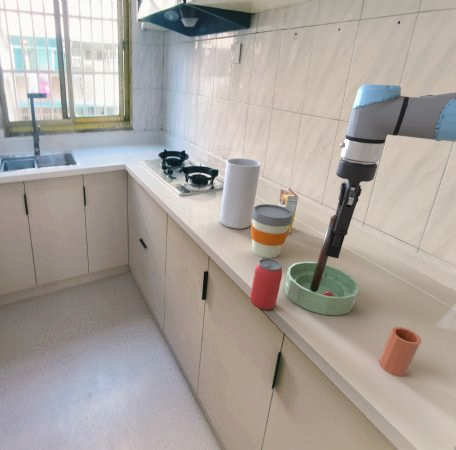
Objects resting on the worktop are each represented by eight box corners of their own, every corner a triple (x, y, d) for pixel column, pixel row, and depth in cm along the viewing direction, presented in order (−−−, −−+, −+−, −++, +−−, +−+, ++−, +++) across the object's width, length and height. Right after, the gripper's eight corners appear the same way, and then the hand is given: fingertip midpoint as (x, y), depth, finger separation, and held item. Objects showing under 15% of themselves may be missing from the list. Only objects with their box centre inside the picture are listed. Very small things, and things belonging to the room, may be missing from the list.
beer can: (244, 301, 89) (251, 262, 84) (258, 292, 93) (266, 254, 88) (265, 314, 85) (274, 273, 80) (280, 304, 89) (289, 265, 84)
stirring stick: (317, 290, 90) (341, 214, 80) (316, 294, 88) (340, 217, 79) (309, 288, 90) (332, 212, 81) (308, 291, 89) (331, 215, 80)
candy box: (273, 223, 138) (280, 188, 131) (284, 224, 137) (291, 188, 131) (279, 233, 129) (287, 195, 123) (291, 233, 129) (299, 196, 123)
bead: (331, 288, 89) (337, 296, 86) (330, 297, 90) (335, 305, 88) (319, 288, 89) (324, 296, 86) (317, 298, 91) (322, 306, 88)
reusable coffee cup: (269, 264, 107) (277, 221, 101) (238, 248, 117) (244, 208, 110) (292, 254, 114) (301, 213, 108) (261, 240, 123) (268, 201, 117)
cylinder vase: (213, 218, 140) (220, 159, 130) (239, 215, 144) (247, 157, 134) (230, 231, 129) (238, 167, 119) (257, 227, 134) (267, 165, 123)
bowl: (350, 289, 96) (356, 271, 94) (354, 326, 82) (361, 306, 79) (287, 273, 103) (290, 256, 100) (279, 305, 88) (284, 285, 86)
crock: (403, 364, 71) (418, 331, 68) (407, 381, 67) (423, 347, 64) (377, 356, 73) (390, 324, 69) (379, 372, 69) (393, 339, 65)
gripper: (339, 152, 82) (316, 239, 91) (340, 165, 69) (314, 264, 79) (374, 156, 79) (347, 245, 89) (382, 170, 66) (350, 272, 76)
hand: (332, 254), depth 84 cm, fingers closed on stirring stick, 2 cm apart
